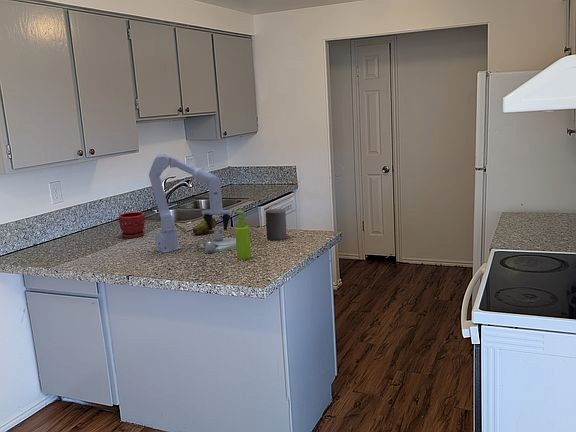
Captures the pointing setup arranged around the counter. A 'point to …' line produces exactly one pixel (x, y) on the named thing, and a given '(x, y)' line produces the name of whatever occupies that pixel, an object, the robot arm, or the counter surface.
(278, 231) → the pillar candle
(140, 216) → the plant pot
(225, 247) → the scale
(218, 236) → the cylinder
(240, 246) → the soap dispenser
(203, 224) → the potato
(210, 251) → the cylinder
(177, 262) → the counter surface
